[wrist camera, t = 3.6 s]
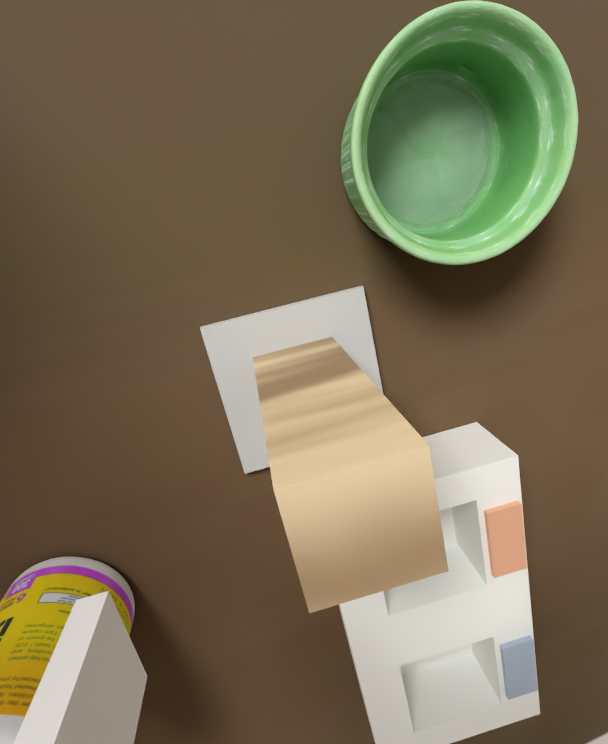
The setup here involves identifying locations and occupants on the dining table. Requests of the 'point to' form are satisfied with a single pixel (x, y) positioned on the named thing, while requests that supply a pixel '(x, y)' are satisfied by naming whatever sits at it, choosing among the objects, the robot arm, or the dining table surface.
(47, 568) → the supplement bottle
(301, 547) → the oak peg
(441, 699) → the socket board
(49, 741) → the robot arm
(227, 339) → the mat
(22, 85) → the dining table surface
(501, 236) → the ramekin
